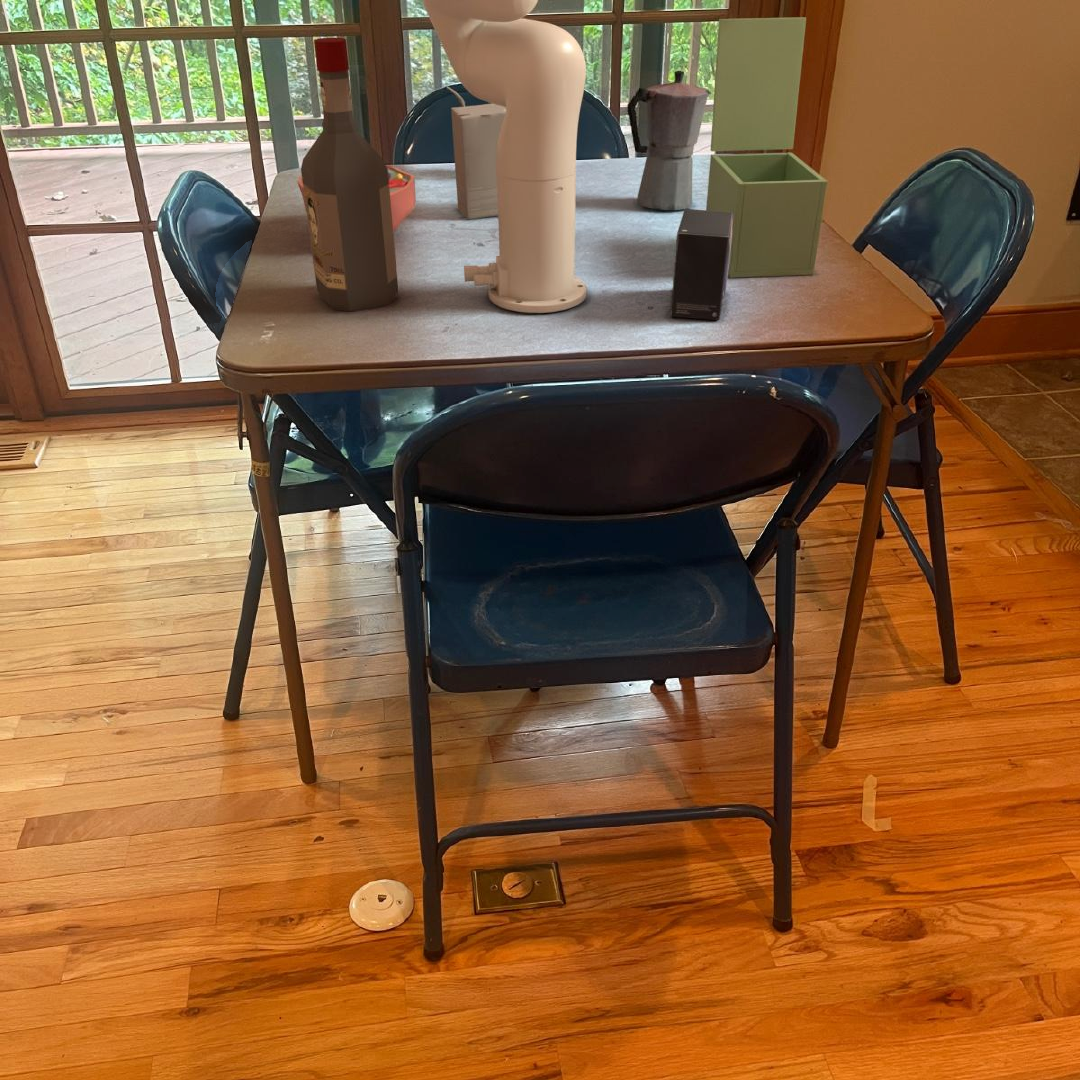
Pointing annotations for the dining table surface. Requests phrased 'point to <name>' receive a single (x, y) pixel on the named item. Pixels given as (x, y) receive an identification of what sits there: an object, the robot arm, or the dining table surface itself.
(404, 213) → the cell model
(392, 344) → the dining table surface
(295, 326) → the dining table surface
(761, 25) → the lid
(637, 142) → the moka pot
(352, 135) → the liquor
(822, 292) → the dining table surface
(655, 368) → the dining table surface
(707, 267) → the small box
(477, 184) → the cosmetic box
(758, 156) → the chest
